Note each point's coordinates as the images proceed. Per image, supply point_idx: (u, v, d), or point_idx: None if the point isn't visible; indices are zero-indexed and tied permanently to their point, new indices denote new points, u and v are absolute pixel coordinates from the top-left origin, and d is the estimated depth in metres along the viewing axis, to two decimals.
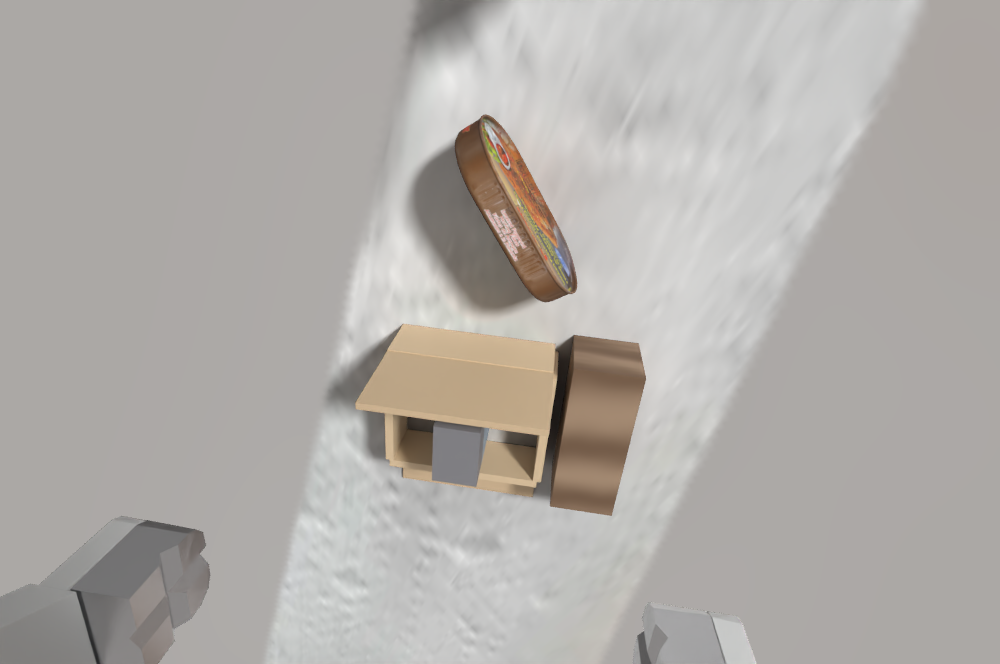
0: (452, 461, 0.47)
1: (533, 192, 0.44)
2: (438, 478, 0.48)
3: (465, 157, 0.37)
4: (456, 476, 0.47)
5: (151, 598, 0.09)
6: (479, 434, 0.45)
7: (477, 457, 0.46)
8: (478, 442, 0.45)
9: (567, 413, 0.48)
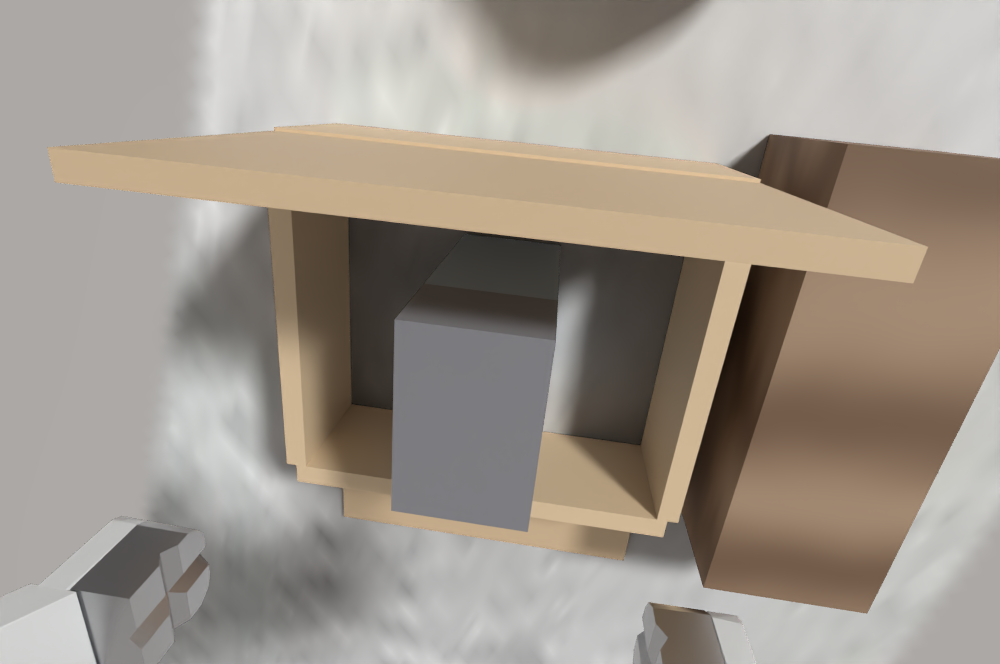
0: (454, 447, 0.15)
1: None
2: (410, 504, 0.15)
3: None
4: (468, 497, 0.15)
5: (151, 598, 0.09)
6: (551, 344, 0.13)
7: (538, 431, 0.14)
8: (545, 375, 0.13)
9: (797, 308, 0.16)
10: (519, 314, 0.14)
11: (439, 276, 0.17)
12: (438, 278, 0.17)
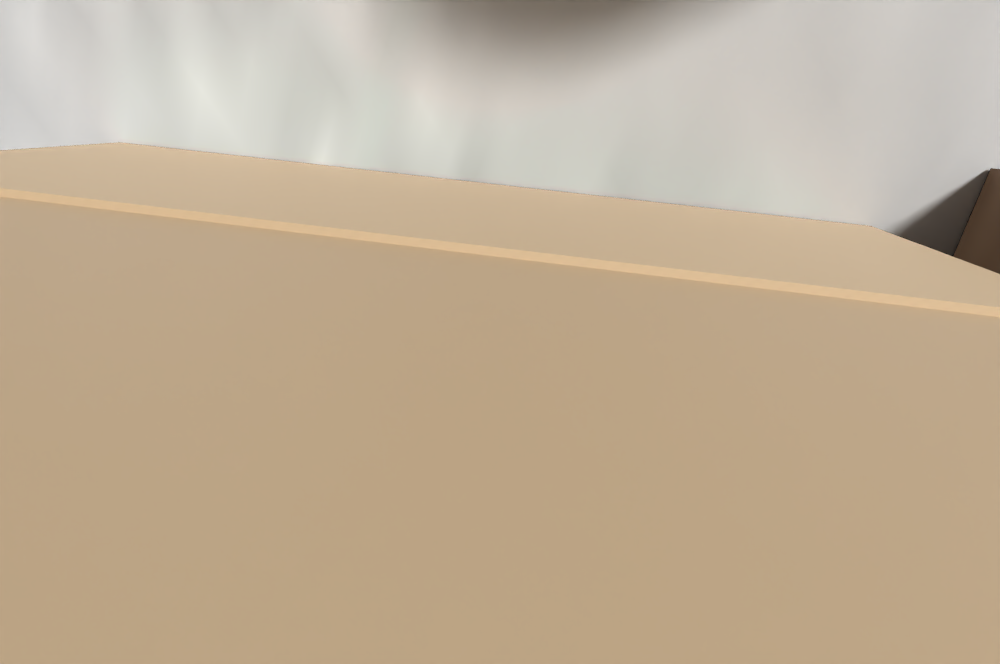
0: None
1: None
2: None
3: None
4: None
5: None
6: None
7: None
8: None
9: None
10: None
11: None
12: None
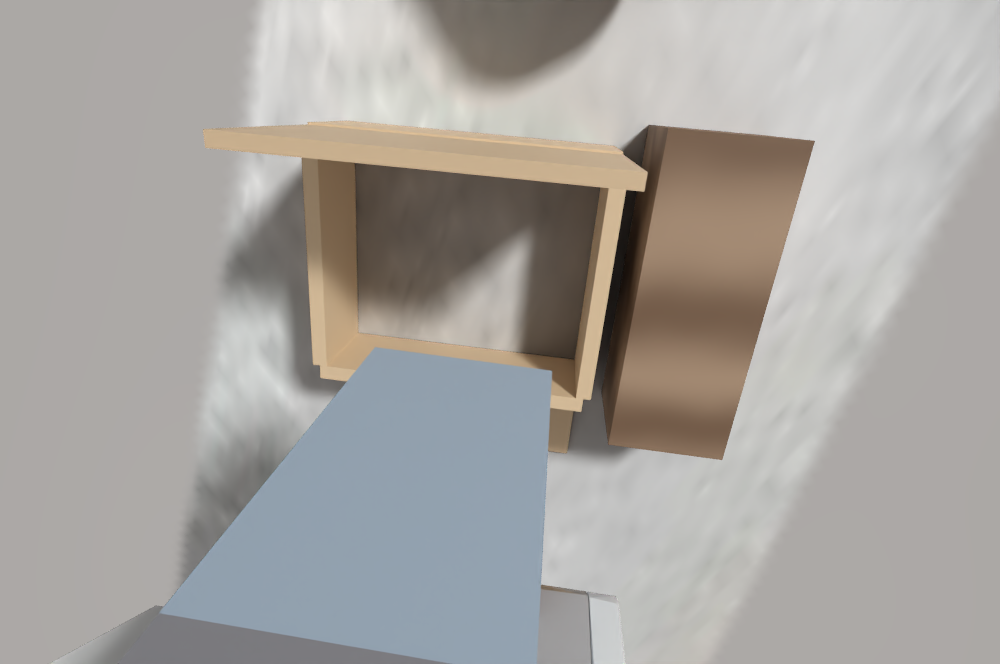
0: None
1: None
2: None
3: None
4: None
5: None
6: None
7: None
8: None
9: (650, 236, 0.25)
10: None
11: (230, 557, 0.06)
12: (221, 569, 0.06)
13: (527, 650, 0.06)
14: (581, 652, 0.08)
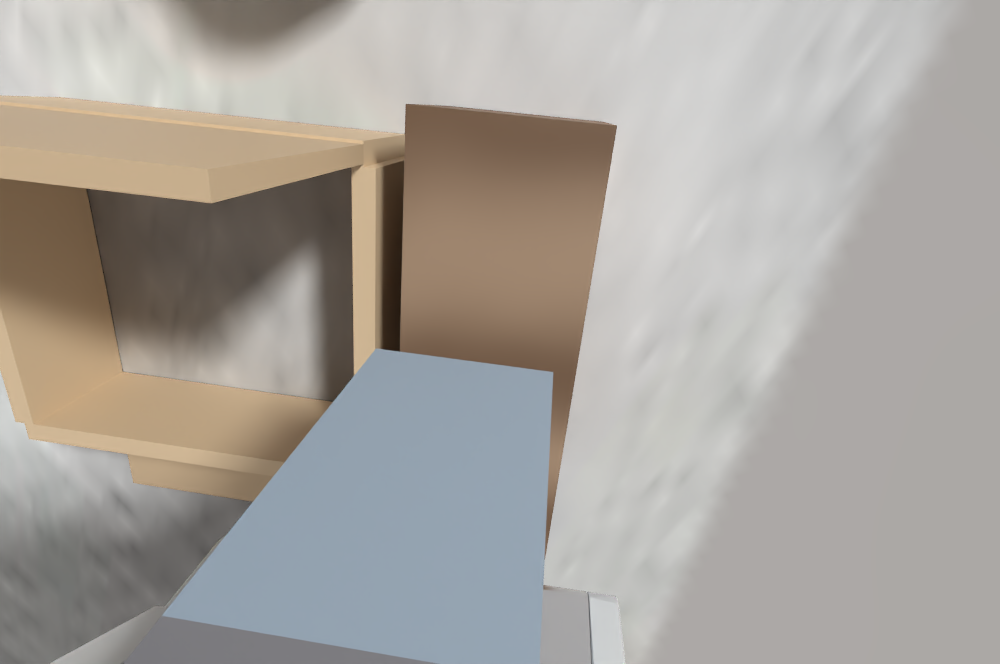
0: None
1: None
2: None
3: None
4: None
5: None
6: None
7: None
8: None
9: (405, 262, 0.17)
10: None
11: (233, 559, 0.06)
12: (224, 571, 0.06)
13: (530, 653, 0.06)
14: (581, 652, 0.08)
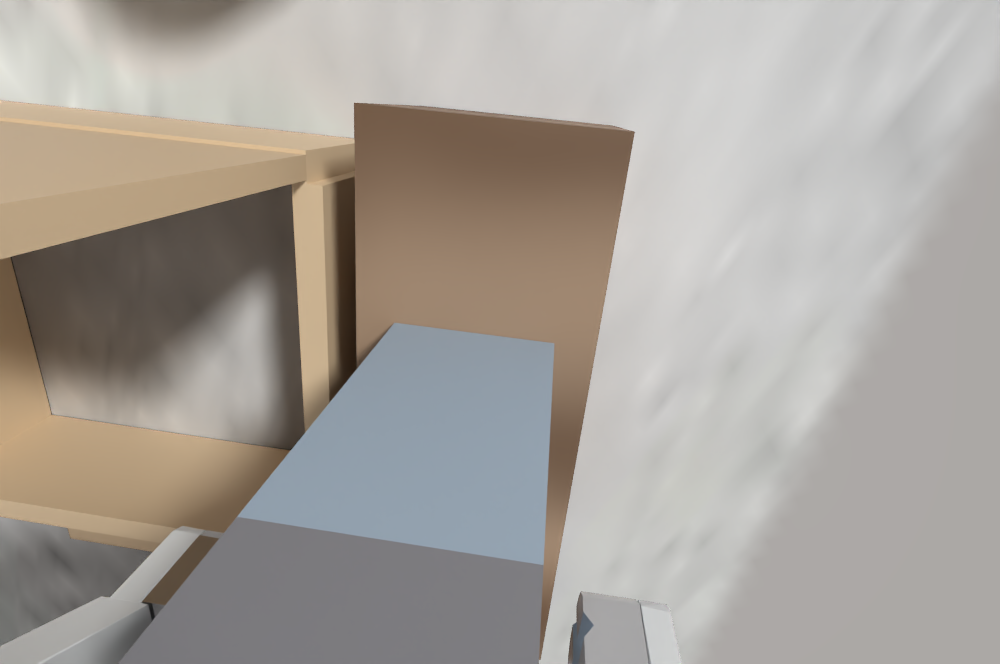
0: None
1: None
2: None
3: None
4: None
5: None
6: None
7: None
8: None
9: (360, 306, 0.13)
10: None
11: (288, 479, 0.08)
12: (282, 487, 0.08)
13: (536, 546, 0.07)
14: (639, 662, 0.08)
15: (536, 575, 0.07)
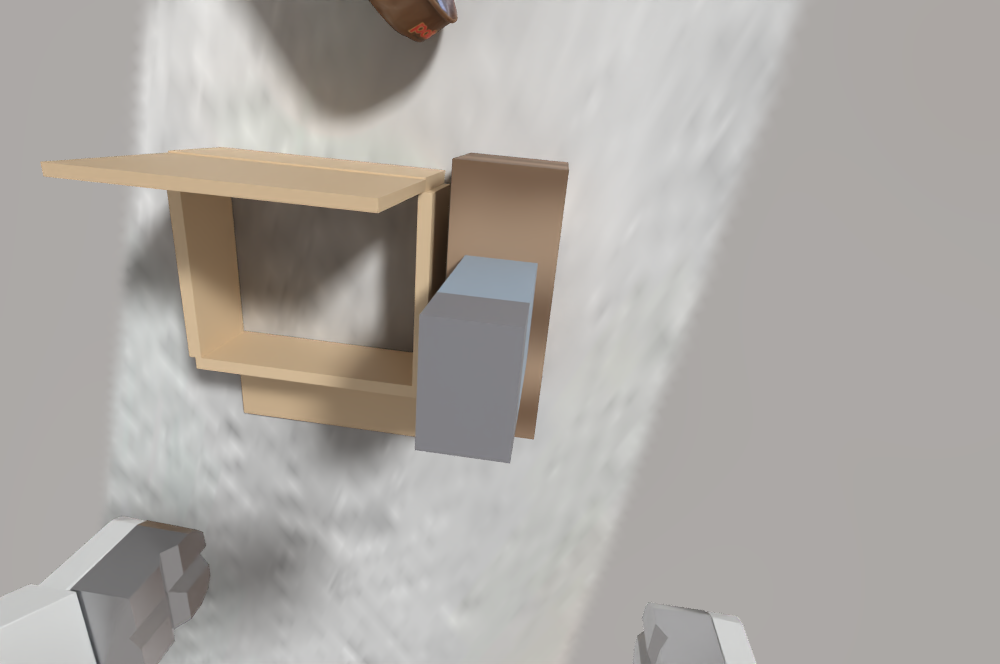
0: (459, 402, 0.21)
1: None
2: (428, 444, 0.22)
3: None
4: (468, 438, 0.22)
5: (151, 598, 0.09)
6: (522, 330, 0.20)
7: (515, 390, 0.21)
8: (519, 351, 0.20)
9: (449, 247, 0.30)
10: (502, 311, 0.21)
11: (447, 287, 0.24)
12: (446, 288, 0.24)
13: (527, 300, 0.23)
14: None
15: (527, 304, 0.23)
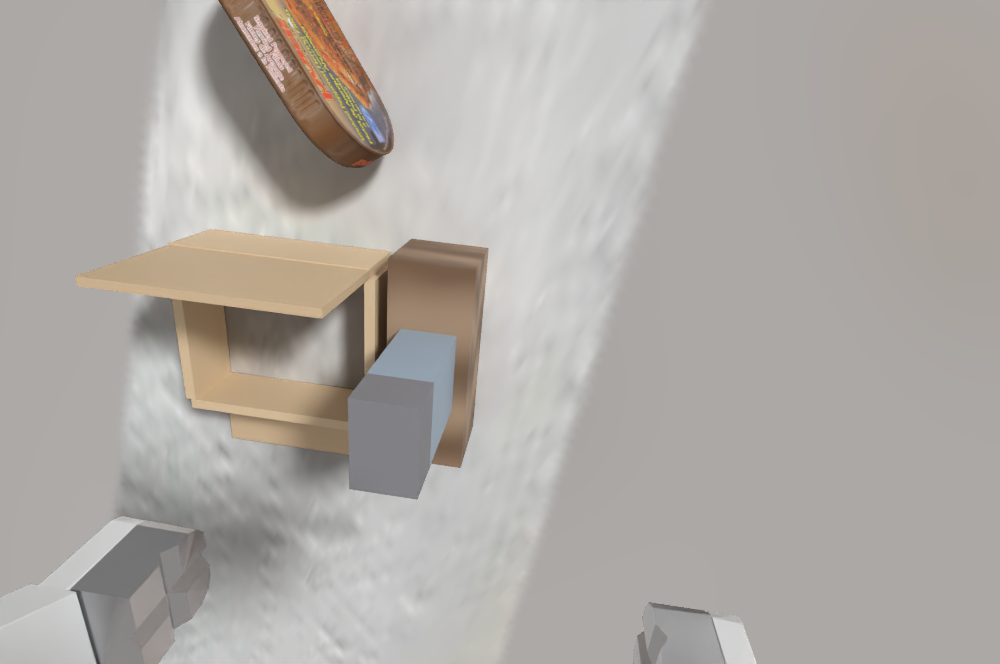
0: (378, 457, 0.30)
1: (339, 43, 0.36)
2: (359, 485, 0.31)
3: None
4: (387, 481, 0.31)
5: (151, 598, 0.09)
6: (419, 410, 0.29)
7: (417, 449, 0.30)
8: (418, 424, 0.29)
9: (388, 323, 0.38)
10: (409, 393, 0.30)
11: (376, 367, 0.32)
12: (375, 369, 0.32)
13: (433, 380, 0.32)
14: None
15: (432, 383, 0.31)
